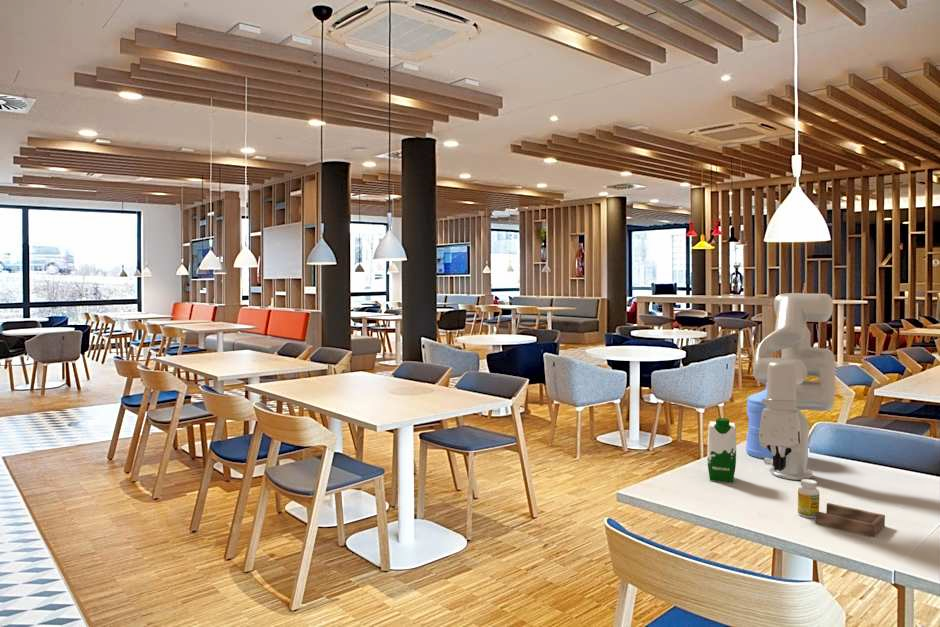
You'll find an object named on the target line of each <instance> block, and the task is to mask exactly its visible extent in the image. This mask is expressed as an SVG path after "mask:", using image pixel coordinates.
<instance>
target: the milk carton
mask: <svg viewBox="0 0 940 627" xmlns="http://www.w3.org/2000/svg"><path fill="white" fill-rule="evenodd" d="M707 428H708V429H707V450H706V451H707V453H706V454H707V458H706V459H707V462H706V463H707V470H708V477H709V481H710V482H719V481H720V482H719V483H729V482H732V483H734V478H735V471H736V466H737V465H736V464H737V427H736V425H735V422H730V419H728V418H725V417H719V418H715V421H711V420H710V421H709V424H708V427H707ZM732 483H731V484H732Z"/></svg>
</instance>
